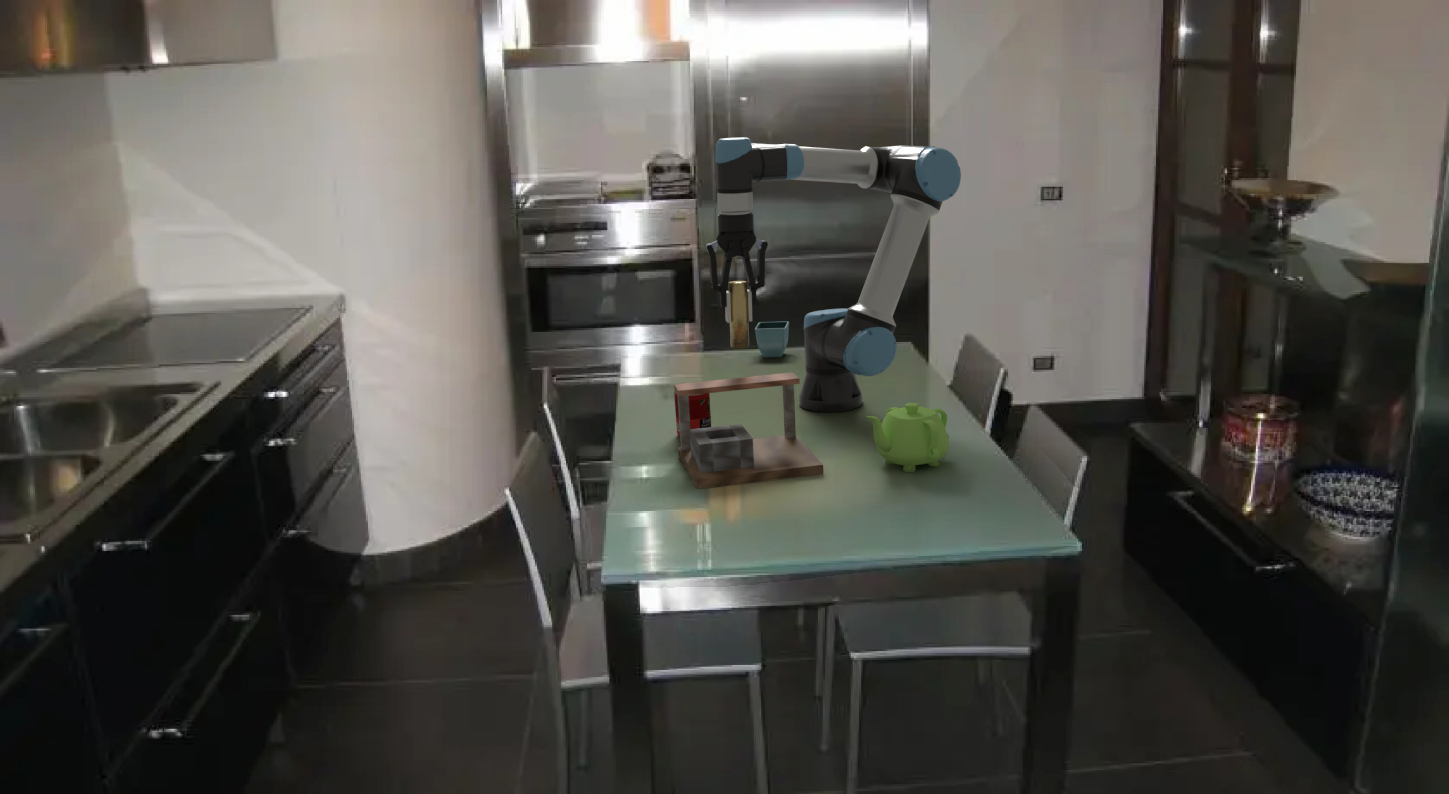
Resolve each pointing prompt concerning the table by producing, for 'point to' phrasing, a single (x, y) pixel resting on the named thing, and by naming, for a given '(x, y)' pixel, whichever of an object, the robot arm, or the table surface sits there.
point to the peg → (739, 314)
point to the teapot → (911, 436)
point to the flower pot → (772, 338)
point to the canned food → (696, 411)
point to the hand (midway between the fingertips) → (738, 320)
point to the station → (742, 440)
